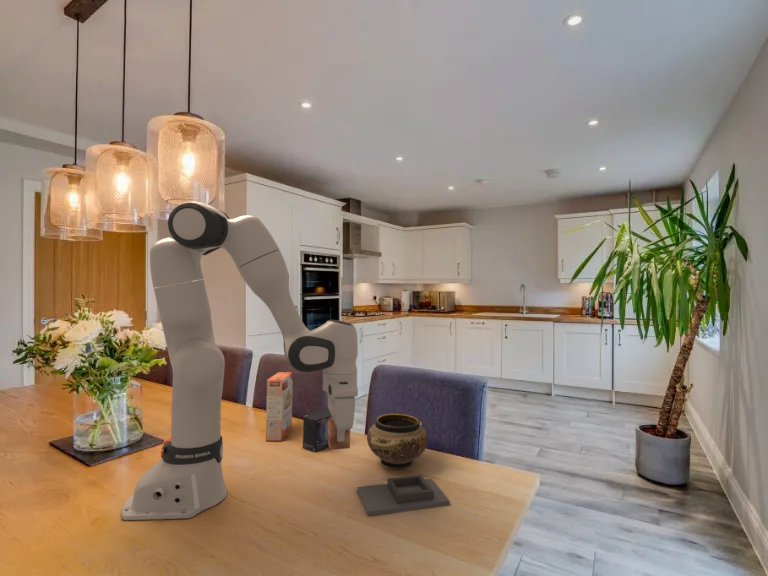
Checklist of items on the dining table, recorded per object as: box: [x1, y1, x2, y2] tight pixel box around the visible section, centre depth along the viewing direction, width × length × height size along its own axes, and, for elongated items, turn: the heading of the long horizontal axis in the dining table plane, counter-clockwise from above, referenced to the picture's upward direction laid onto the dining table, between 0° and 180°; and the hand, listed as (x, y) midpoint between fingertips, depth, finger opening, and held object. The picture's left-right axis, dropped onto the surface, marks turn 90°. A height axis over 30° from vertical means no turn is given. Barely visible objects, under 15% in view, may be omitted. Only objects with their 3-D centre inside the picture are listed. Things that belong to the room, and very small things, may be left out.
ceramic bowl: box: [366, 412, 429, 470], centre depth 121 cm, size 24×18×15 cm
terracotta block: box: [328, 420, 351, 450], centre depth 106 cm, size 5×5×6 cm
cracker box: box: [265, 371, 294, 442], centre depth 145 cm, size 14×6×21 cm, turn 179°
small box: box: [302, 408, 333, 453], centre depth 135 cm, size 11×6×10 cm, turn 143°
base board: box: [357, 474, 451, 517], centre depth 101 cm, size 20×12×3 cm, turn 104°
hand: (338, 436), depth 106 cm, fingers closed on terracotta block, 5 cm apart
